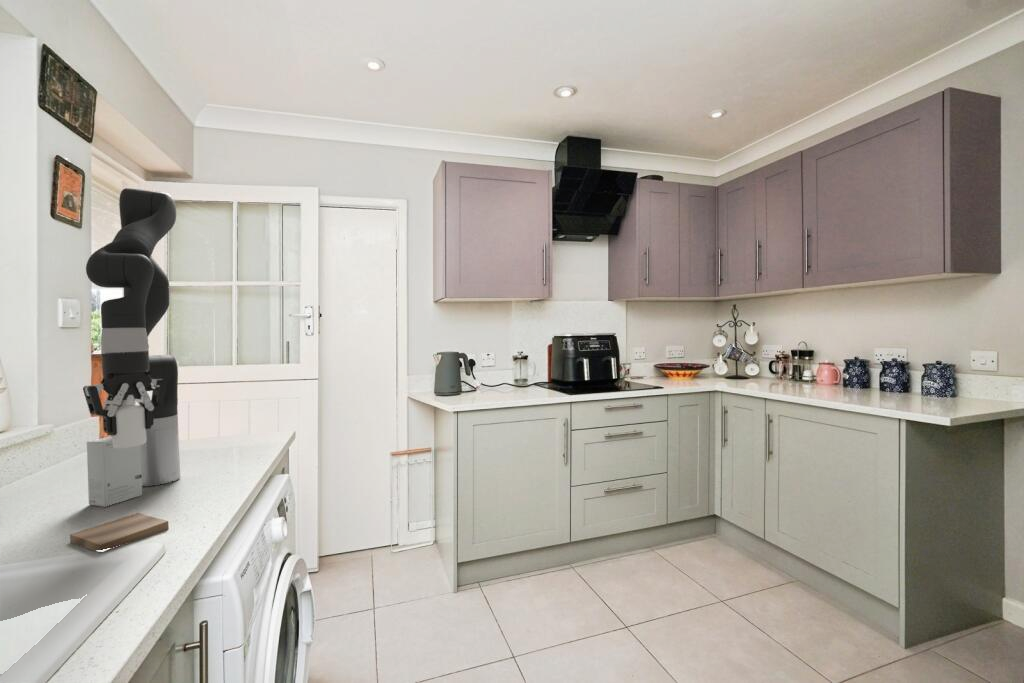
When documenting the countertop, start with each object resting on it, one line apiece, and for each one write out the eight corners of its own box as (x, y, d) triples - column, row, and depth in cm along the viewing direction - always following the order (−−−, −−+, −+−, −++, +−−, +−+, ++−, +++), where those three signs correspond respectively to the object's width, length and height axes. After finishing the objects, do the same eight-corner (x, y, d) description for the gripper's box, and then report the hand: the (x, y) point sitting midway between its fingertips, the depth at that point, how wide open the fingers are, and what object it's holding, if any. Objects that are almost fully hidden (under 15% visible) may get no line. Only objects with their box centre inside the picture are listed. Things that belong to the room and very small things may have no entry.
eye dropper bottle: (110, 447, 96) (107, 389, 95) (144, 441, 100) (142, 386, 100) (114, 450, 93) (111, 390, 92) (149, 444, 97) (146, 387, 97)
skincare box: (105, 508, 104) (102, 442, 104) (87, 505, 106) (83, 440, 106) (144, 494, 112) (141, 434, 112) (127, 492, 114) (124, 432, 114)
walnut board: (70, 542, 87) (69, 534, 87) (138, 519, 97) (137, 512, 97) (100, 553, 83) (100, 544, 83) (168, 528, 92) (168, 521, 92)
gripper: (154, 349, 104) (157, 424, 104) (71, 352, 91) (76, 438, 91) (174, 348, 101) (177, 426, 101) (91, 351, 88) (96, 440, 88)
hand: (129, 431), depth 96 cm, fingers closed on eye dropper bottle, 5 cm apart
